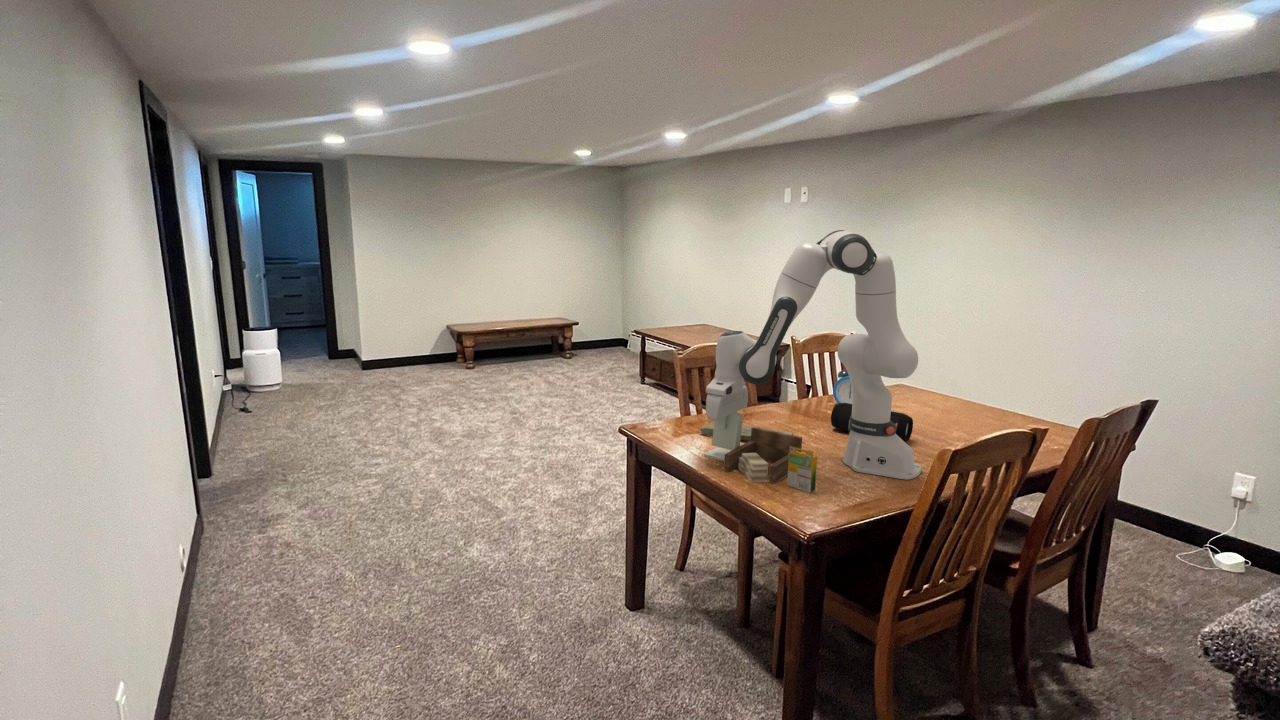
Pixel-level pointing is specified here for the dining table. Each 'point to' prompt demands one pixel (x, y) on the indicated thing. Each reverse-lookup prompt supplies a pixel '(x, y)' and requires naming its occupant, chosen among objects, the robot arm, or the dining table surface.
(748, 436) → the stone slab
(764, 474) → the offcut stack
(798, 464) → the crayon box
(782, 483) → the dining table surface
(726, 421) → the pale green block
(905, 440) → the portable speaker
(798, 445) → the walnut corral
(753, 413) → the dining table surface
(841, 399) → the alarm clock
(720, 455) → the grey plate
